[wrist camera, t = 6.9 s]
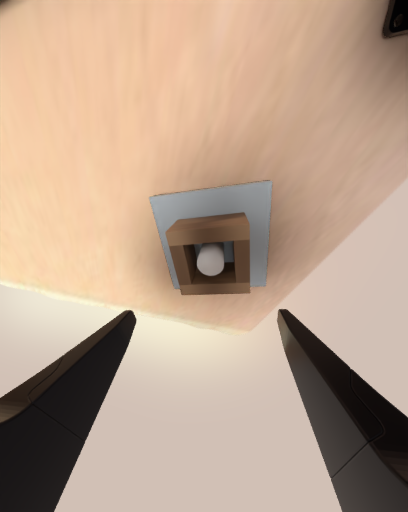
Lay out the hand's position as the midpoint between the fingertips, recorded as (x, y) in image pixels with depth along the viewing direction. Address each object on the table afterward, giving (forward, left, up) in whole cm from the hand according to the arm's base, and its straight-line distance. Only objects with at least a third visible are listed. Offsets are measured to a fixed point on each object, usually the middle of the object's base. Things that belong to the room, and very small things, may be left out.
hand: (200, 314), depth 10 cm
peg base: (0, 0, -11) cm, 11 cm away
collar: (0, 0, -10) cm, 10 cm away
